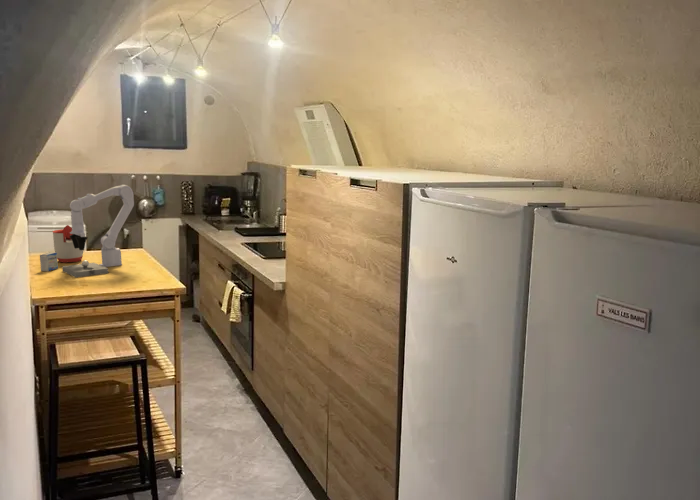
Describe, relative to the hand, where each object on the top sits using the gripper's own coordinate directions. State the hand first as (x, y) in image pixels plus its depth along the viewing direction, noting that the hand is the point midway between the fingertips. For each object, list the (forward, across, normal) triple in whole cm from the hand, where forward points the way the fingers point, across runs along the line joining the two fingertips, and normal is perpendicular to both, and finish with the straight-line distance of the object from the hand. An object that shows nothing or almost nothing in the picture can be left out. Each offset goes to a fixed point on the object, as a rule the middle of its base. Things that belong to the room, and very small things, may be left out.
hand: (79, 249), depth 341 cm
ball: (+6, +13, -2) cm, 14 cm away
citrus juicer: (+10, -23, +2) cm, 25 cm away
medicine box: (+10, -5, -14) cm, 18 cm away
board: (+10, +13, -2) cm, 16 cm away
